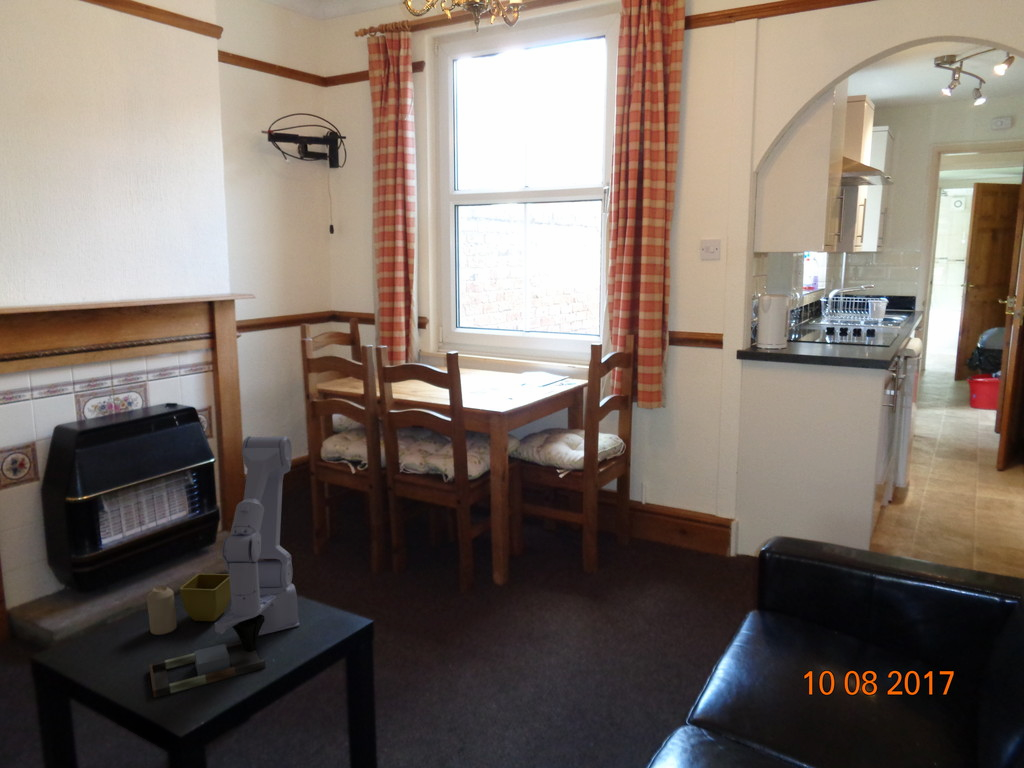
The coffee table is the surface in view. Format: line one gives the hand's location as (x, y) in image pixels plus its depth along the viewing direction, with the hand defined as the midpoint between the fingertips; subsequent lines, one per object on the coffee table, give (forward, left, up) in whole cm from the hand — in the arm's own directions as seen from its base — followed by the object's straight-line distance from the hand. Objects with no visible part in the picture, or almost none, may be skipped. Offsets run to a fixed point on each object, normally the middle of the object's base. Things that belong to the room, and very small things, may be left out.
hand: (249, 649), depth 157 cm
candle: (+15, -24, -2) cm, 28 cm away
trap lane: (+8, 0, -2) cm, 9 cm away
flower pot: (+5, -25, -2) cm, 25 cm away
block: (+8, 0, -2) cm, 8 cm away
